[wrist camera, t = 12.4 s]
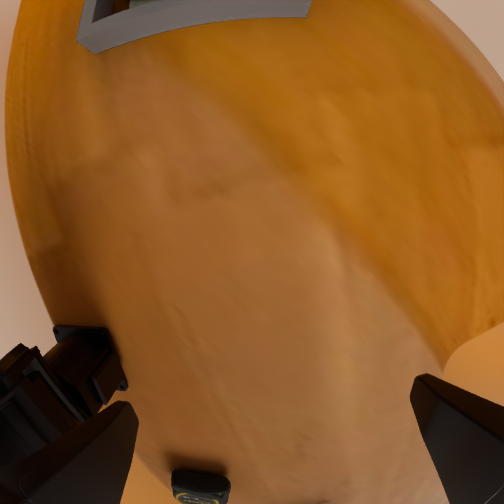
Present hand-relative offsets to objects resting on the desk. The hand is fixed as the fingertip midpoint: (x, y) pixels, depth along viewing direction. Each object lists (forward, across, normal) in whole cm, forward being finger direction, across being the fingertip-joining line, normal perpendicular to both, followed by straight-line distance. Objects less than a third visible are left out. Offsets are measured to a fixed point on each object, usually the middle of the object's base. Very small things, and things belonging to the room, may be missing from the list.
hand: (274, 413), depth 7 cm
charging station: (+12, +3, -25) cm, 28 cm away
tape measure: (+12, +10, +25) cm, 30 cm away
